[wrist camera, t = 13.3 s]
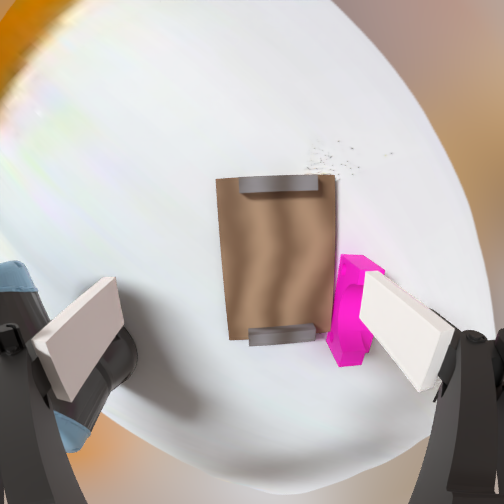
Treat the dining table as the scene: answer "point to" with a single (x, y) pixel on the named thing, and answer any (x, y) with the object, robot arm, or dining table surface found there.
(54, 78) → the dining table surface
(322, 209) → the wooden serving tray
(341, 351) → the toy block
